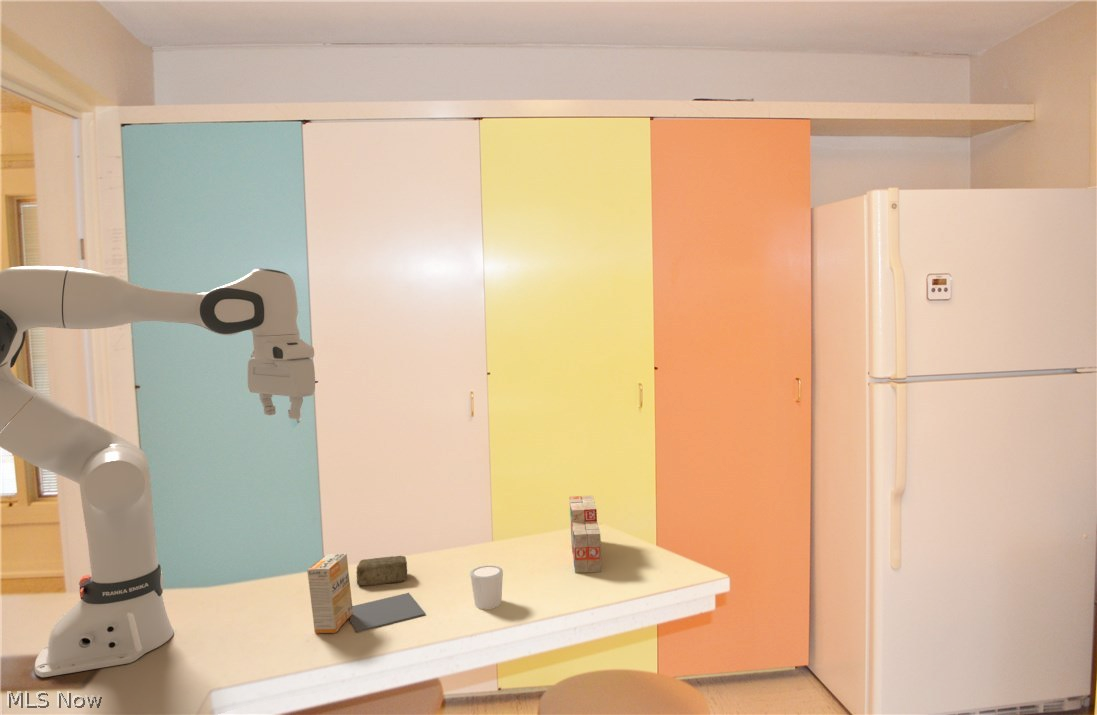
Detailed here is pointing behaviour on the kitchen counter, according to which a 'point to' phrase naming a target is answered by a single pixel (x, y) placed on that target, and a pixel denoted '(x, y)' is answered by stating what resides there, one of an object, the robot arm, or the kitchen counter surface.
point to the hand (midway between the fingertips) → (282, 416)
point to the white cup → (487, 586)
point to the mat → (385, 612)
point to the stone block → (381, 570)
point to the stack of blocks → (585, 534)
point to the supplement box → (330, 593)
